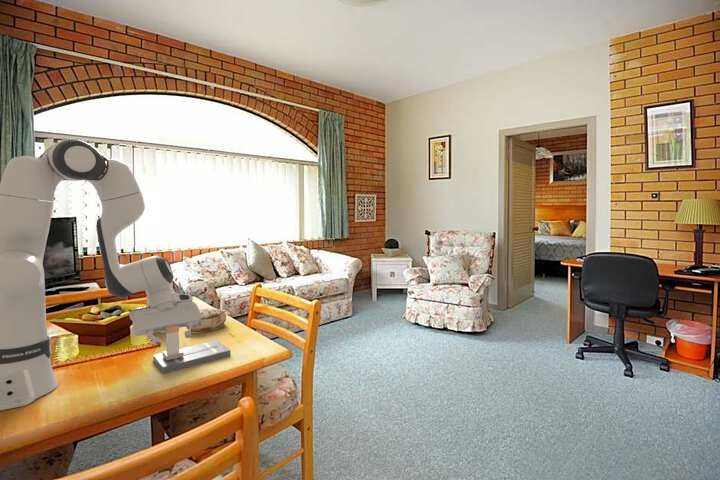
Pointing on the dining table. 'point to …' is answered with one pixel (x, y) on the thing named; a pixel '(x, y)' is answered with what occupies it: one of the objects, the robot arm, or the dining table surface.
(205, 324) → the trinket box
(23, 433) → the dining table surface
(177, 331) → the fader knob
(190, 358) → the fader console
